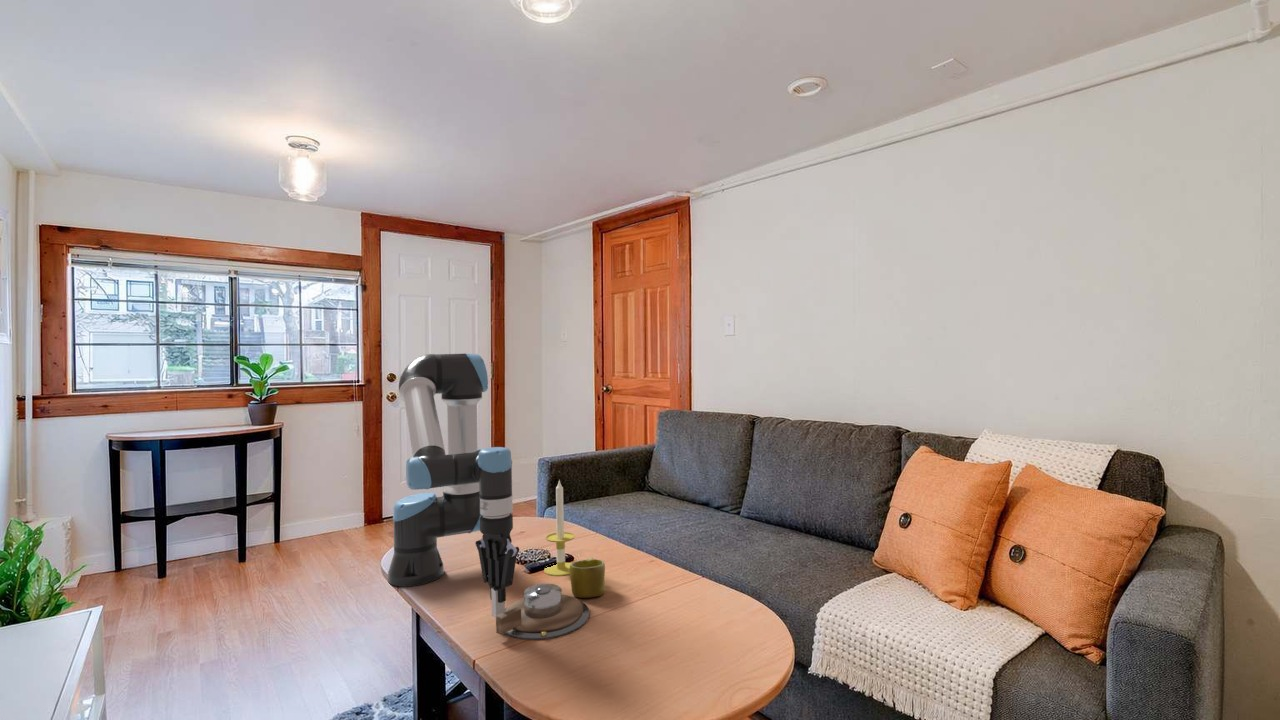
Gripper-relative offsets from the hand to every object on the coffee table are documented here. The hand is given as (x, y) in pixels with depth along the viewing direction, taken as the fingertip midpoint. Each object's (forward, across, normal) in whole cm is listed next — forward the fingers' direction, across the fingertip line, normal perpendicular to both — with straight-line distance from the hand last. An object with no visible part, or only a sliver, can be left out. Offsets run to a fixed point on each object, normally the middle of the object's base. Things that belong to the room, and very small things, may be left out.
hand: (498, 614), depth 134 cm
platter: (+2, +5, +7) cm, 9 cm away
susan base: (+3, +5, +10) cm, 11 cm away
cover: (+1, +5, +10) cm, 11 cm away
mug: (+3, +4, +28) cm, 28 cm away
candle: (+3, -13, +35) cm, 37 cm away
